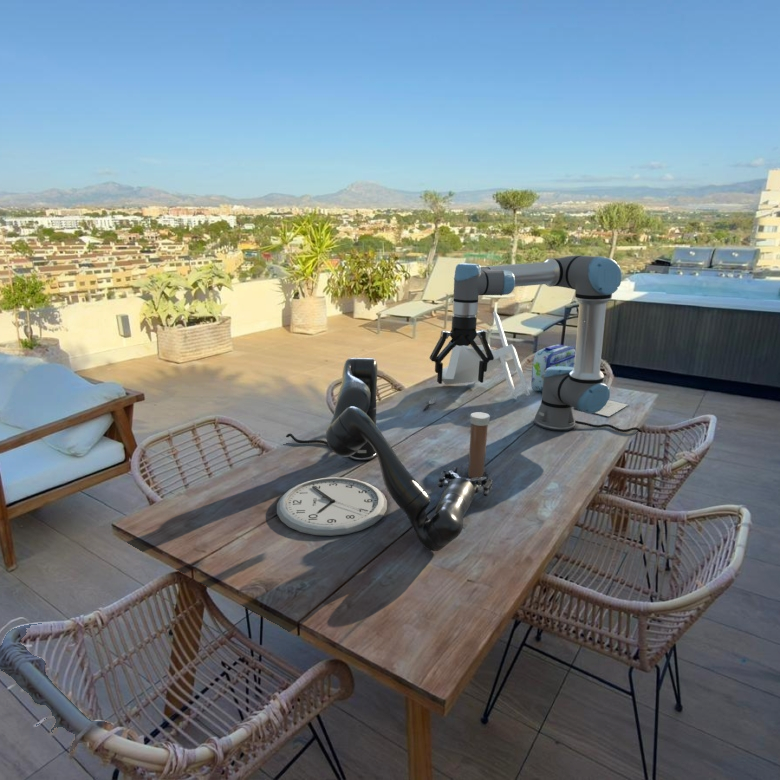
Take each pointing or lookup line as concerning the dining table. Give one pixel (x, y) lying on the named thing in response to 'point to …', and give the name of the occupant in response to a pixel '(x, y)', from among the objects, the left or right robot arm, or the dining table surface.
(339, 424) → the left robot arm
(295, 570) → the dining table surface
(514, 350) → the white plastic object
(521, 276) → the right robot arm
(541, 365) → the lunch box
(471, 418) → the lid
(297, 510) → the wall clock
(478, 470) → the brown tube
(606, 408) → the invitation card
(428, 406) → the fork
